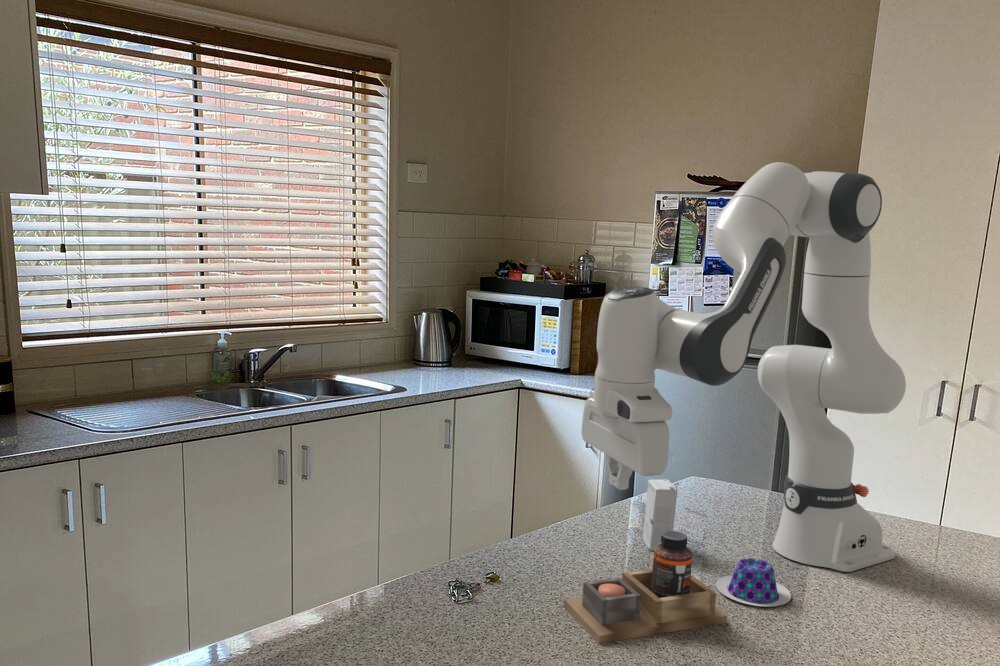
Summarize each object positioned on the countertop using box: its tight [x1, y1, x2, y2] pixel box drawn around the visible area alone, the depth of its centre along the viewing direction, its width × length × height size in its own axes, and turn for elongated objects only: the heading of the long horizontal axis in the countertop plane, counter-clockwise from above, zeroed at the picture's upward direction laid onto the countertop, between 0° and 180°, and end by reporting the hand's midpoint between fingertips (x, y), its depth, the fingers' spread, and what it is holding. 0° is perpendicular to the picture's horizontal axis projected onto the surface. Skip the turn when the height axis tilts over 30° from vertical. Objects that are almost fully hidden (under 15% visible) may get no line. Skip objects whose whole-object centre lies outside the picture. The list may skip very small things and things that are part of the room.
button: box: [598, 584, 625, 598], centre depth 126 cm, size 4×4×3 cm
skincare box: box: [642, 478, 678, 551], centre depth 156 cm, size 6×4×12 cm
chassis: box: [563, 568, 728, 644], centre depth 129 cm, size 22×12×5 cm, turn 111°
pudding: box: [716, 557, 792, 607], centre depth 138 cm, size 12×12×5 cm
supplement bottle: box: [651, 530, 693, 598], centre depth 130 cm, size 6×6×11 cm
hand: (618, 486), depth 125 cm, fingers closed
